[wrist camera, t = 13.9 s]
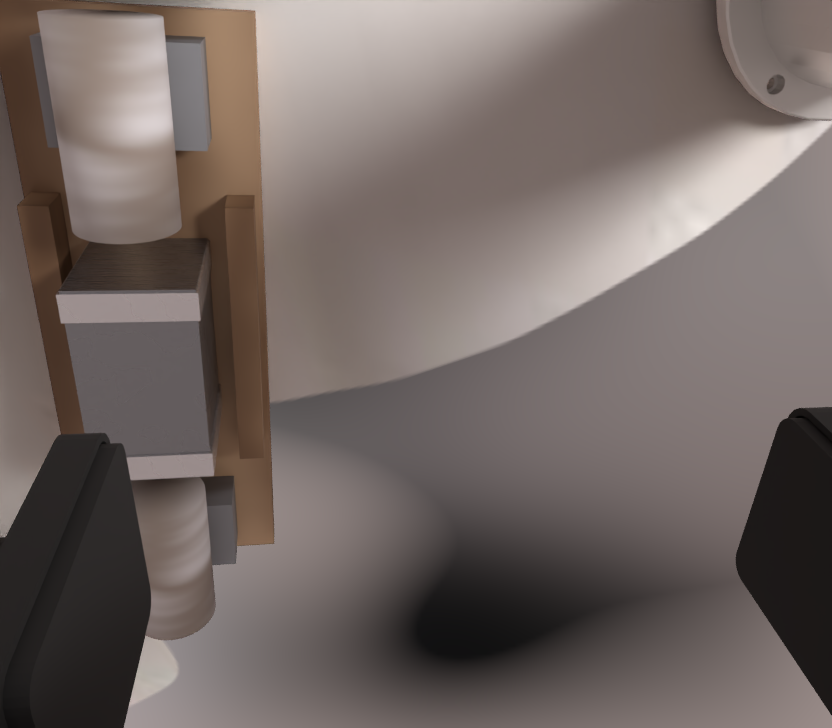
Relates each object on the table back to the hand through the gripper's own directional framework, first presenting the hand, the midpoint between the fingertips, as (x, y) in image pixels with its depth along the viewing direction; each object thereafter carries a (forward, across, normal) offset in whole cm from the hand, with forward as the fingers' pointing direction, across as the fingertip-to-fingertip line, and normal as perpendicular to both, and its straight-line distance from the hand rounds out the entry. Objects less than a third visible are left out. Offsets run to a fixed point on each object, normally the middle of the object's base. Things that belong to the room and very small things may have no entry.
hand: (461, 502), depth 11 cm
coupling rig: (+26, +10, +10) cm, 30 cm away
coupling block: (+25, +10, +10) cm, 29 cm away
